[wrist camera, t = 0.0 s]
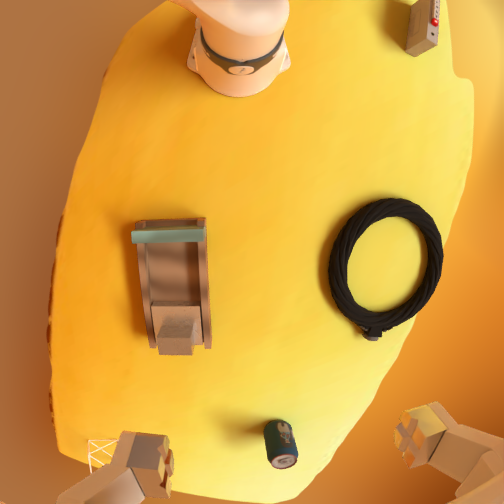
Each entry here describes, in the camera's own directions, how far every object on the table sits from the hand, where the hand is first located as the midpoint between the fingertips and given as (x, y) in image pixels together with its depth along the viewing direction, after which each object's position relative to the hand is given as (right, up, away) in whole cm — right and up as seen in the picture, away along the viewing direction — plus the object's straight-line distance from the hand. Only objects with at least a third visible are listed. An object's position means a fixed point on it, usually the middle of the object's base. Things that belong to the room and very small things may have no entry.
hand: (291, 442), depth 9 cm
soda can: (+5, -37, +59) cm, 69 cm away
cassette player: (+35, +56, +39) cm, 77 cm away
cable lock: (+26, +3, +51) cm, 58 cm away
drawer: (-15, 0, +48) cm, 51 cm away
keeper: (-15, -7, +48) cm, 51 cm away
